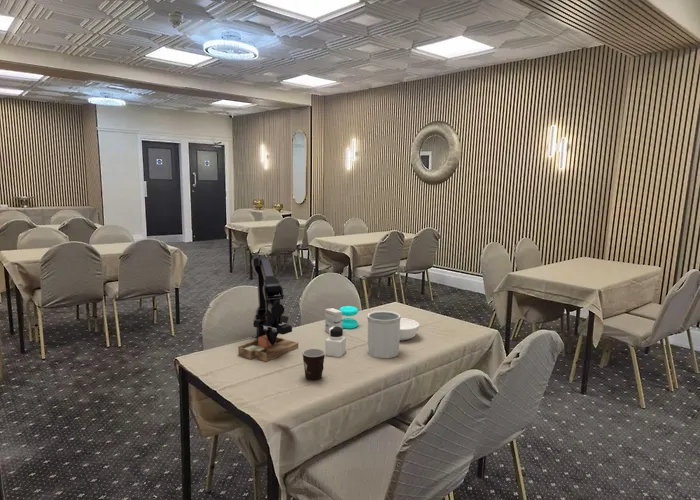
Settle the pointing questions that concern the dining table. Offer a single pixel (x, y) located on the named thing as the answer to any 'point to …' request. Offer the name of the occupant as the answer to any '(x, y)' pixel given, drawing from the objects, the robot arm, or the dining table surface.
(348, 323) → the donuts
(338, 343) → the medicine bottle
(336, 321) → the ink box
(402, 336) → the bowl
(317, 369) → the coffee mug
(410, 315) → the dining table surface
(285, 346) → the brown compartment tray
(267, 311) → the robot arm
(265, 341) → the block
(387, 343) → the utensil holder
